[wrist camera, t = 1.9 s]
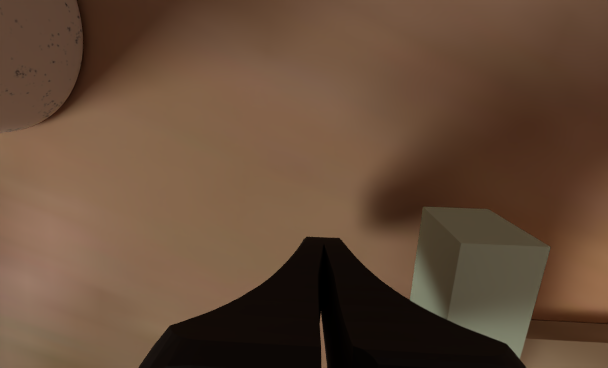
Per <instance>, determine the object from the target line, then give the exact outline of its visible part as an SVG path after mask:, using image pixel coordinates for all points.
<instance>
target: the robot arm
mask: <svg viewBox="0 0 608 368" xmlns="http://www.w3.org/2000/svg"><path fill="white" fill-rule="evenodd" d="M320 314H321V315H322V324H323V333H324V342H325V351H326V360H327V368H527V367H526V366H525V365H524V364H523V363H522V361H521V360H520V359H519V358H518V356H517V355H516V354H515V353H514V352H513V350H512V349H511V348H510V347H509V346H508V345H507V344H506V343H504V342H501V341H498V340H496V339H493V338H490V337H488V336H485V335H483V334H480V333H477V332H475V331H472V330H470V329H467V328H464V327H462V326H460V325H457V324H455V323H453V322H451V321H449V320H447V319H444V318H442V317H440V316H438V315H436V314H434V313H432V312H430V311H428V310H426V309H424V308H423V307H421V306H419V305H417V304H416V303H414V302H412V301H411V300H409V299H407V298H405V297H404V296H402V295H401V294H399V293H398V292H396V291H395V290H393V289H392V288H391V287H389V286H388V285H386V284H385V283H384V282H382V281H381V280H380V279H379V278H377V277H376V276H375V275H374V274H373V273H372V272H371V271H369V270H368V269H367V268H366V267H365V266H364V265H363V264H362V263H361V262H360V261H359V260H358V259H357V258H356V257H355V256H354V255H353V253H352V252H351V251H350V250H349V249H348V248H347V246H346V245H345V244H344V243H343V242H342V240H341V239H340V238H324V237H306V238H305V239H304V240H303V242H302V243H301V245H300V246H299V248H298V249H297V250H296V251H295V253H294V254H293V255H292V256H291V257H290V259H289V260H288V261H287V262H286V263H285V264H284V265H283V266H282V267H281V268H280V269H279V270H278V271H277V272H276V273H275V274H274V275H272V276H271V277H270V278H269V279H268V280H266V281H265V282H264V283H262V284H261V285H260V286H258V287H256V288H255V289H253V290H251V291H250V292H248V293H246V294H245V295H243V296H242V297H240V298H238V299H236V300H234V301H232V302H230V303H228V304H226V305H224V306H222V307H219V308H217V309H215V310H213V311H210V312H208V313H205V314H202V315H200V316H197V317H194V318H191V319H188V320H185V321H183V322H180V323H177V324H174V325H170V326H169V327H168V329H167V330H166V331H165V332H164V334H163V335H162V336H161V337H160V339H159V340H158V341H157V342H156V343H155V345H154V346H153V348H152V349H151V350H150V352H149V353H148V354H147V356H146V357H145V359H144V360H143V362H142V363H141V365H140V366H139V368H321V340H320V324H319V323H320Z"/></svg>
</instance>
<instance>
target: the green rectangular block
mask: <svg viewBox="0 0 608 368" xmlns="http://www.w3.org/2000/svg"><path fill="white" fill-rule="evenodd" d="M550 248H551V247H550V246H548V245H547V244H545V243H543V242H542V241H540V240H538V239H537V238H535V237H533V236H532V235H530V234H528V233H527V232H525V231H524V230H522V229H520V228H519V227H517V226H515V225H514V224H512V223H510V222H509V221H507V220H505V219H504V218H502V217H500V216H499V215H497V214H495V213H494V212H492V211H491V210H489V209H475V208H447V207H423V210H422V217H421V225H420V232H419V239H418V246H417V253H416V260H415V268H414V275H413V282H412V289H411V296H410V300H411V301H412V302H414V303H416V304H417V305H419V306H421V307H423V308H424V309H426V310H428V311H430V312H432V313H434V314H436V315H438V316H440V317H442V318H444V319H447V320H449V321H451V322H453V323H455V324H457V325H460V326H462V327H464V328H467V329H470V330H472V331H475V332H477V333H480V334H483V335H485V336H488V337H490V338H493V339H496V340H498V341H501V342H504V343H506V344H507V345H508V346H509V347H510V348H511V349H512V350H513V352H514V353H515V354H516V355H517V356H518V358H519V359H520V357H521V353H522V350H523V346H524V342H525V339H526V335H527V331H528V328H529V324H530V320H531V317H532V313H533V310H534V306H535V302H536V299H537V295H538V291H539V288H540V284H541V280H542V277H543V273H544V270H545V266H546V262H547V259H548V255H549V251H550Z"/></svg>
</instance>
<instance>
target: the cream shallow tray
mask: <svg viewBox="0 0 608 368" xmlns="http://www.w3.org/2000/svg"><path fill="white" fill-rule="evenodd" d="M520 360H521V361H522V363H523V364H524V365H525V366H526V367H527V368H608V324H598V323H578V322H559V321H539V320H530V324H529V328H528V331H527V335H526V339H525V342H524V346H523V350H522V353H521V357H520Z"/></svg>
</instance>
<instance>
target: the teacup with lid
mask: <svg viewBox="0 0 608 368" xmlns="http://www.w3.org/2000/svg"><path fill="white" fill-rule="evenodd" d="M82 53H83V32H82V23H81V17H80V12H79V8H78V4H77V0H0V133H1V132H11V131H17V130H21V129H26V128H28V127H31V126H34V125H36V124H38V123H40V122H42V121H44V120H45V119H47V118H48V117H50V116H51V115H52V114H53V113H55V112H56V111H57V110H58V109H59V108H60V107H61V106H62V105H63V103H64V102H65V101H66V99H67V98H68V97H69V95H70V93H71V91H72V89H73V88H74V85H75V83H76V80H77V78H78V74H79V71H80V67H81V61H82Z"/></svg>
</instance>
